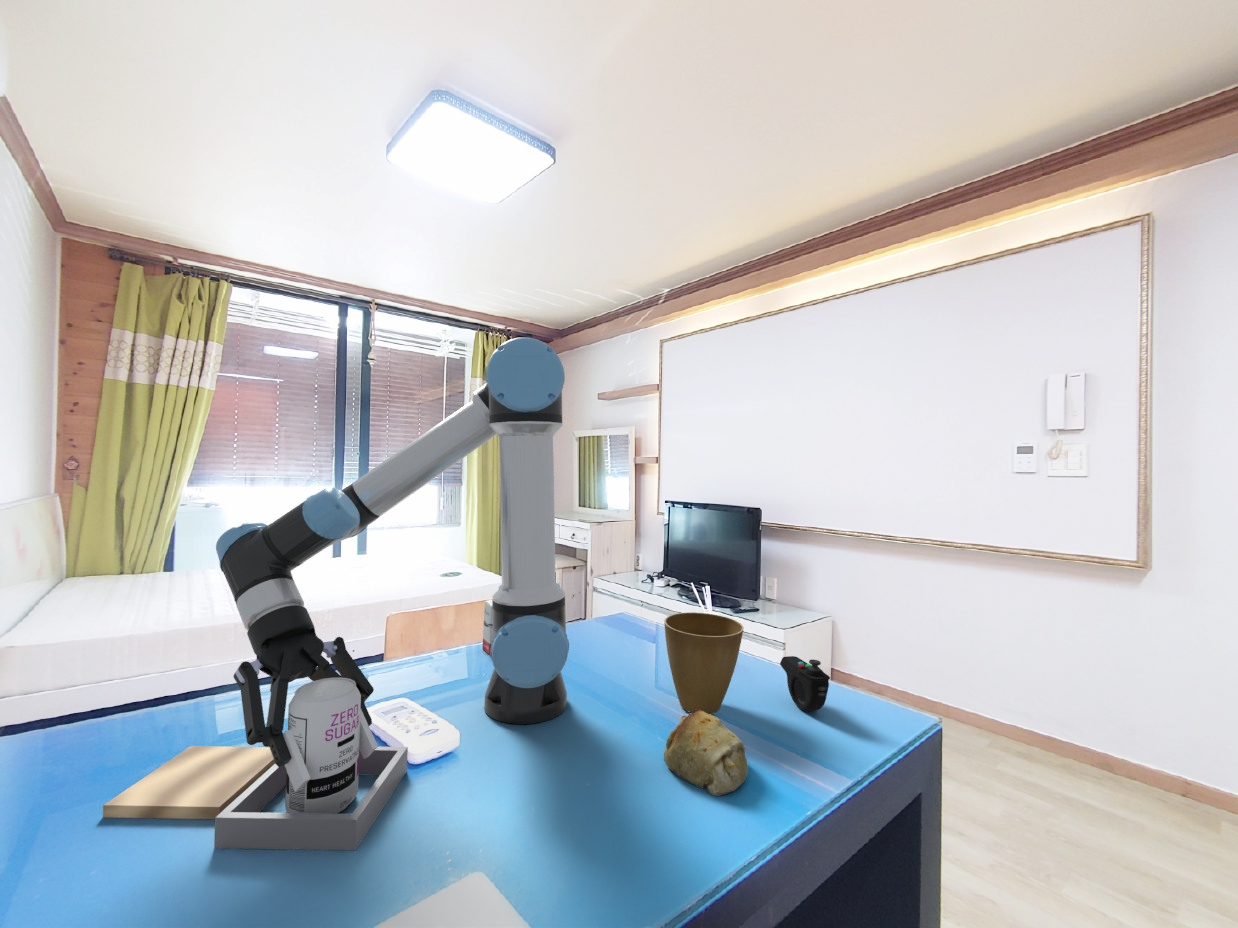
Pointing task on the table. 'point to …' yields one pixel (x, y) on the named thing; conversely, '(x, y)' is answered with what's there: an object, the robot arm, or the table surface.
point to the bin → (308, 830)
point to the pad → (193, 784)
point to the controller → (806, 682)
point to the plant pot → (702, 657)
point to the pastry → (706, 754)
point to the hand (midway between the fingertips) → (338, 767)
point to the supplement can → (326, 745)
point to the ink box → (488, 626)
